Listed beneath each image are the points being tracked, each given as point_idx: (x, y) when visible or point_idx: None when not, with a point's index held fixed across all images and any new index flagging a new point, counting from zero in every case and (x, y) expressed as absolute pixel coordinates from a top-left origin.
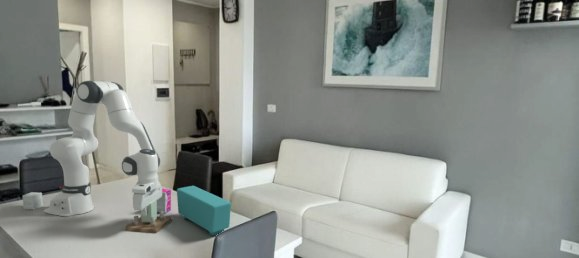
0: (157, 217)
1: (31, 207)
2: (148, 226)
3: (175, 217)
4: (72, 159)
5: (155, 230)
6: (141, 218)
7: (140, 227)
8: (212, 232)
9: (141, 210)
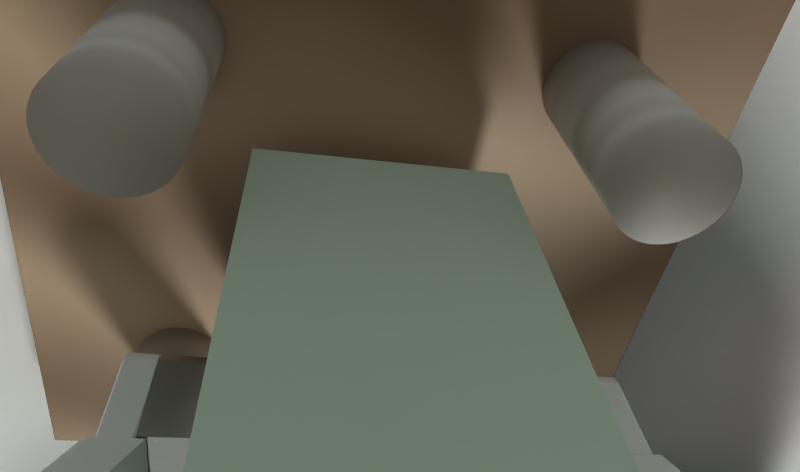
0: (599, 288)
1: None
2: (148, 298)
3: (668, 423)
4: None
5: (57, 418)
6: (242, 195)
7: (55, 183)
8: None
9: (207, 369)
